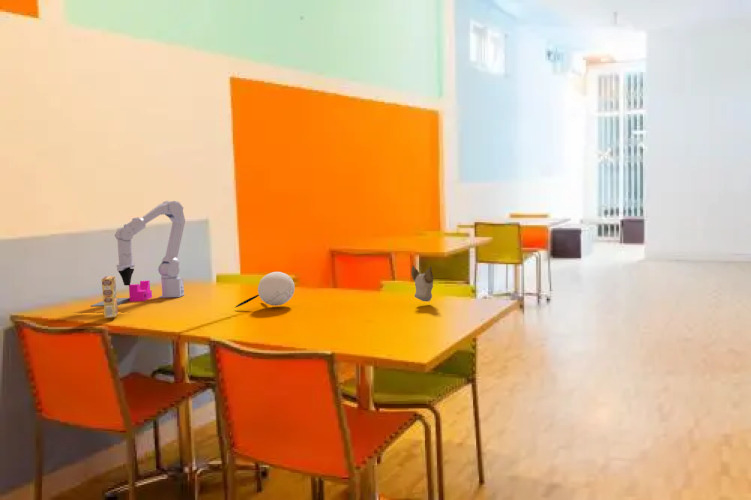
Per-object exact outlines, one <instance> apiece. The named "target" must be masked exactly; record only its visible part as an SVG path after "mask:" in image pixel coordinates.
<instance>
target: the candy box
mask: <svg viewBox="0 0 751 500" xmlns="http://www.w3.org/2000/svg"><path fill="white" fill-rule="evenodd" d="M101 286H102V287H101V289H102V299H103V300H102V301H104V306H103V312H104V318H105V319H106V318H115V317H117V315H118V314H119V309H118V308H119V305H118V306H117V298H118V295H117V282H116V275H111V276H110V275H109V276H108V275H107V276H104V277H103V278H102V279H101Z"/></svg>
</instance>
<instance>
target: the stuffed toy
mask: <svg viewBox="0 0 751 500" xmlns="http://www.w3.org/2000/svg"><path fill="white" fill-rule="evenodd" d="M257 293H258V294H257V295H254V296H251V297H249V298H248V299H245V300H244V301H241V302H240V303H238V305H236V306H235V308H238V307H241V306H244V305H245V304H247V303H249V302H250V301H252V300H254V299H256V298H258V297H259V298H260V299H261V302H262V301H263V302H264V303H265V304H268V305H270V306H281V305H284V304H286V303H287V302H288V301H290V300H291V299H292V298H293V296H294V293H295V282H294V280H293V278H292V277H291V276H290V275H288V274H287V273H284V272H282V271H273V272H270V273H267V274H266V275H264V276H263V277H262V278H261V279H260V280H259V284H258V286H257Z"/></svg>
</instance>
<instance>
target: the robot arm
mask: <svg viewBox="0 0 751 500" xmlns="http://www.w3.org/2000/svg"><path fill="white" fill-rule="evenodd" d="M162 215H163V216H164V215H165V216H166V217H167V218H169V219H170V221H171V222H172V223H171V224H172V225H171V229H170V232H169V238H168V243H167V246H166V253H165V255H164V257H163V258H162V260H161V263H160V264H159V266H158V268H157V271H158V273H159V274H160V280H161V281H160V282H161V293H162V294H161V295H160V296H159V297H158V298H181V297H182V296H184V295H185V285H184V279H183V277H178V275H179V273H180V261H179V259H178V257H179V251H180V248H181V244H182V243H181V242H182V239H183V238H182V237H183V233H184V228H185V224H186V217H185V215H184V206H183V205H182V204H181V202H179V201H177V200H171V201H169V200H166V201H162V203H159V204H158V205H157V206H155V207H154V208H152V209H151V210H150V211H149V212H147V213H145V215H143V216H142V217H137V216H136V217H133V218H132V219H131V221H130V222H127V223H125V224H123V227H119V228H117V230H116V231H115V234H114V237H115V239H116V240H117V255H118V264H116V266H115V267H116V270H117V272H118V273H119V275H120V277H121V280H122V282H123V283H122V284H123V285H124V286H129V285H131V281H132V277H133V274H134V271H135V262H133V251H132V249H133V248H132V239H133V237H134V236H135V235H137V234H138V233H139V232H141V231H142V230H144V229H146V224H148V223H149V222H152V221H153V220H154V219H156V218H157V217H159V216H162Z"/></svg>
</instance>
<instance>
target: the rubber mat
mask: <svg viewBox="0 0 751 500" xmlns="http://www.w3.org/2000/svg"><path fill="white" fill-rule="evenodd" d="M126 302H127V303H128V302H131V301H130V297H117V306H118V307H119V306H120V305H123V304H126ZM90 307H104V301H103V300H102V301H99V302H97V303H94V304H91V305H90Z"/></svg>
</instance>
